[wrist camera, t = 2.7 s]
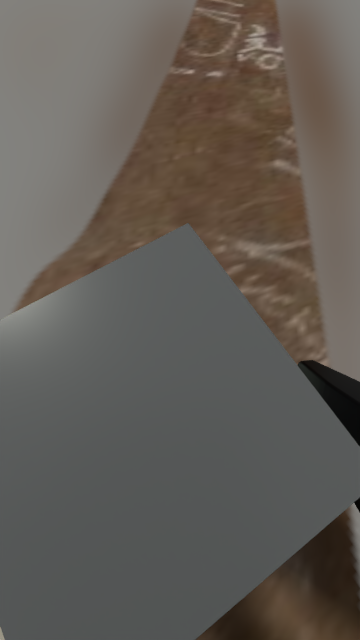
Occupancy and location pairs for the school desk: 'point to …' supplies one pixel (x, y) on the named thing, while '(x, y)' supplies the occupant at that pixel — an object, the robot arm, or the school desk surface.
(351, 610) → the school desk surface
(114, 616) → the plug
